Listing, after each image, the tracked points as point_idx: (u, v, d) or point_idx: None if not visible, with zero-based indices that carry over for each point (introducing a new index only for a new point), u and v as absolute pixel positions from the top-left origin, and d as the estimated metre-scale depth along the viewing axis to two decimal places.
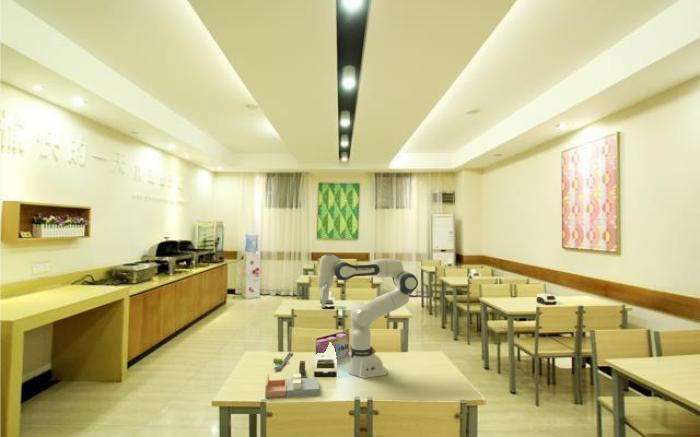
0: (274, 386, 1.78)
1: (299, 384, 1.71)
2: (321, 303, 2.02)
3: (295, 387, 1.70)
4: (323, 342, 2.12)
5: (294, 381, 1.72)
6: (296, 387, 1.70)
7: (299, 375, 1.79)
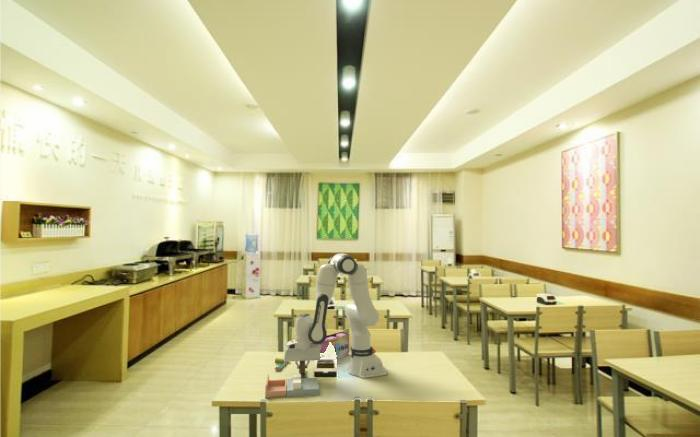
0: (274, 386, 1.78)
1: (299, 384, 1.71)
2: None
3: (295, 387, 1.70)
4: (323, 342, 2.13)
5: (294, 381, 1.72)
6: (296, 387, 1.70)
7: (299, 375, 1.79)
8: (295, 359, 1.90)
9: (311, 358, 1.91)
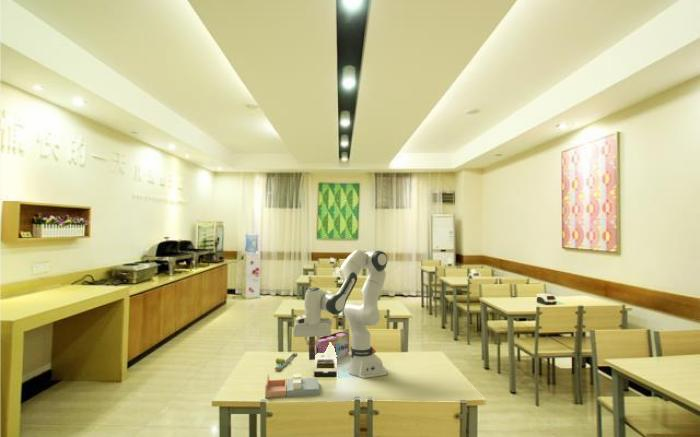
0: (274, 386, 1.78)
1: (299, 384, 1.71)
2: None
3: (295, 387, 1.70)
4: (323, 342, 2.13)
5: (294, 381, 1.72)
6: (296, 387, 1.70)
7: (299, 375, 1.79)
8: (304, 335, 1.81)
9: (321, 334, 1.82)
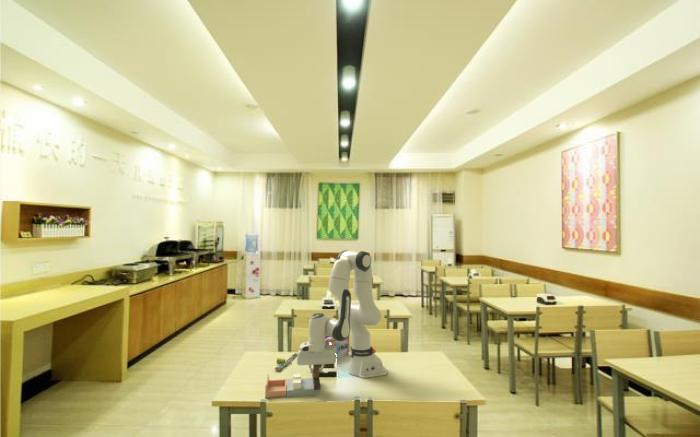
0: (274, 386, 1.78)
1: (299, 384, 1.71)
2: None
3: (295, 387, 1.70)
4: None
5: (294, 381, 1.72)
6: (296, 387, 1.70)
7: (299, 375, 1.79)
8: (309, 363, 1.75)
9: (326, 362, 1.77)
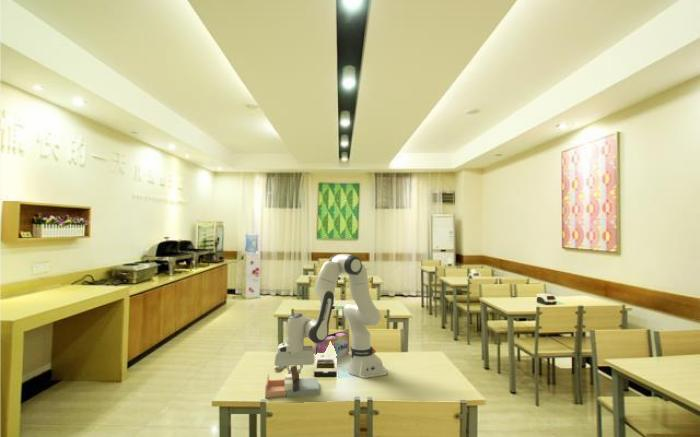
0: (274, 386, 1.78)
1: (290, 385, 1.70)
2: (290, 373, 1.75)
3: (286, 388, 1.69)
4: (323, 341, 2.14)
5: (285, 382, 1.71)
6: (287, 388, 1.69)
7: (291, 375, 1.79)
8: (286, 363, 1.73)
9: (304, 362, 1.75)
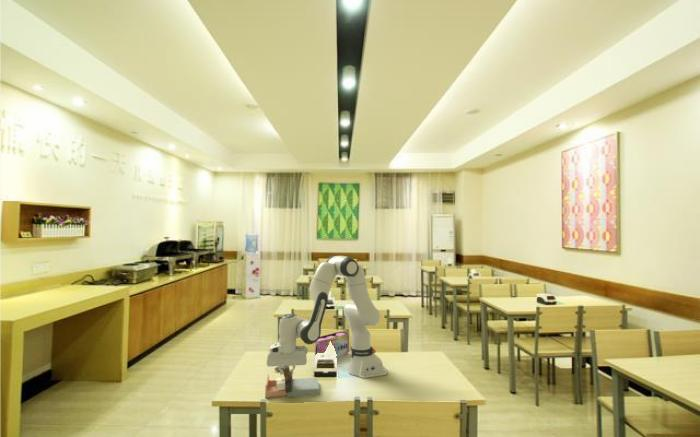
0: (274, 386, 1.78)
1: (283, 384, 1.69)
2: None
3: (279, 388, 1.68)
4: (322, 341, 2.14)
5: (278, 382, 1.71)
6: (280, 388, 1.69)
7: None
8: (279, 364, 1.73)
9: (296, 363, 1.74)
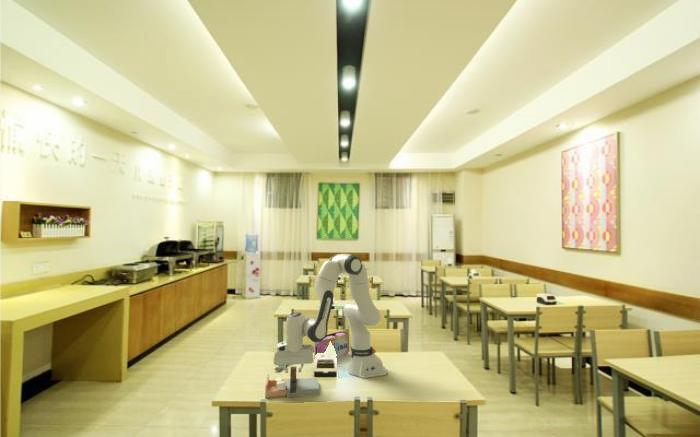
0: (274, 386, 1.78)
1: (283, 384, 1.69)
2: None
3: (279, 388, 1.68)
4: (322, 341, 2.14)
5: (278, 382, 1.70)
6: (280, 388, 1.69)
7: None
8: (285, 362, 1.73)
9: (303, 361, 1.75)
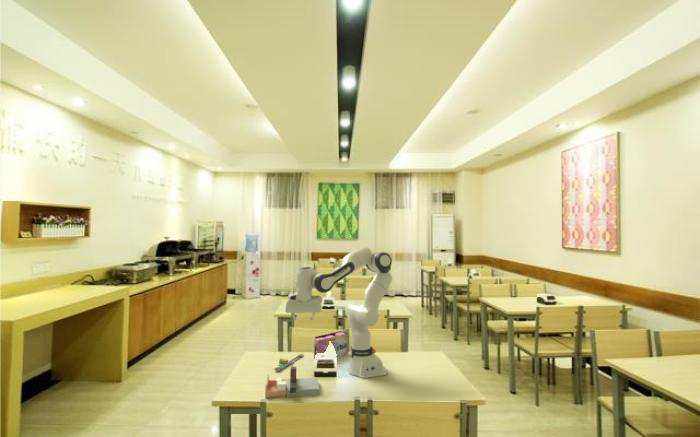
0: (274, 386, 1.78)
1: (283, 385, 1.69)
2: None
3: (279, 388, 1.68)
4: (321, 340, 2.15)
5: (279, 382, 1.70)
6: (280, 388, 1.68)
7: None
8: (296, 311, 1.92)
9: (312, 310, 1.93)
